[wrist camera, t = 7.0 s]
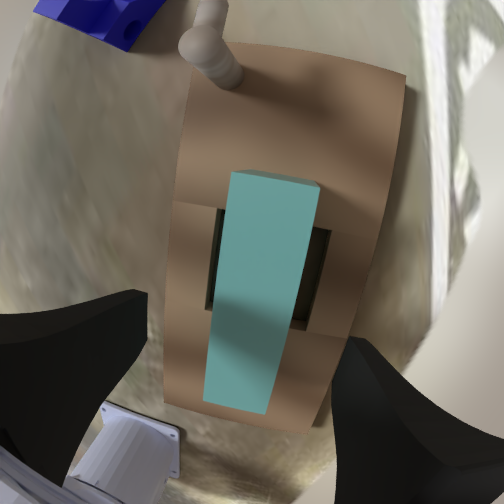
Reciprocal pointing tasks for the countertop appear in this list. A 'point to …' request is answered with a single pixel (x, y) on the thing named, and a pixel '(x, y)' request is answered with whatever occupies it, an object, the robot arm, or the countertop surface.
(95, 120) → the countertop surface
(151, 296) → the countertop surface
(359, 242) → the slotted wooden board
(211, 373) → the teal rectangular block
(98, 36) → the blue concave arch block
